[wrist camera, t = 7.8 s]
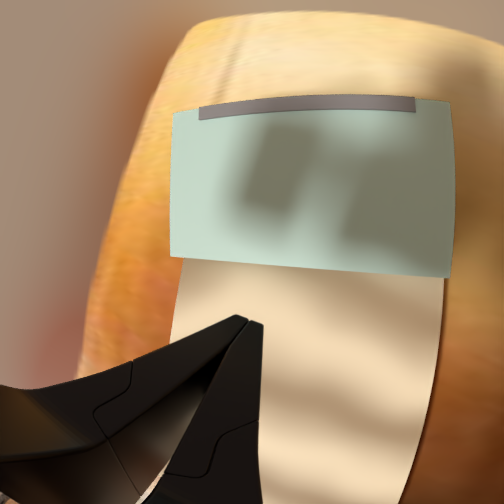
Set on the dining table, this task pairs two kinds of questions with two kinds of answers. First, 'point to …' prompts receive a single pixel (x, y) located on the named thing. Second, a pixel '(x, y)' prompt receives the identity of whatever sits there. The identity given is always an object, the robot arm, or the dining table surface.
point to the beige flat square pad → (328, 371)
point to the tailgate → (316, 183)
